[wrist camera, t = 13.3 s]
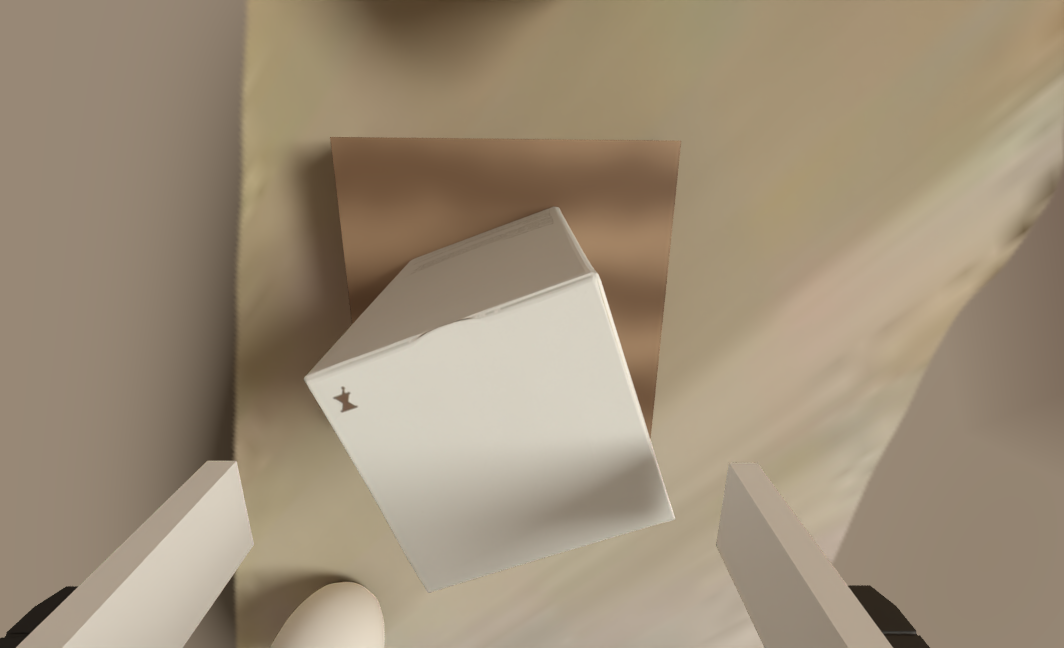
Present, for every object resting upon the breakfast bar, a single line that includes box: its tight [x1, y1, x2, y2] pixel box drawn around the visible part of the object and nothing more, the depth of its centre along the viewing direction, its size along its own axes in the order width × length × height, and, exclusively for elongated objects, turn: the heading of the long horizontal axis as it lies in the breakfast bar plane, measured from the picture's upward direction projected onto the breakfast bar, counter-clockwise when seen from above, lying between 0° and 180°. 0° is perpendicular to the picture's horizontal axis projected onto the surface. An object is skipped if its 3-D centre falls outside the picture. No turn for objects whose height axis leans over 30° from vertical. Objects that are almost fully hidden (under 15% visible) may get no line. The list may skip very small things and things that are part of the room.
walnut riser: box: [330, 137, 681, 438], centre depth 31 cm, size 18×18×4 cm
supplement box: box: [304, 207, 675, 593], centre depth 22 cm, size 9×9×15 cm
